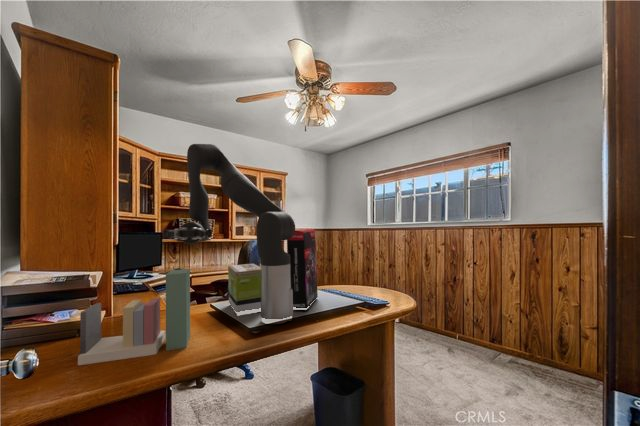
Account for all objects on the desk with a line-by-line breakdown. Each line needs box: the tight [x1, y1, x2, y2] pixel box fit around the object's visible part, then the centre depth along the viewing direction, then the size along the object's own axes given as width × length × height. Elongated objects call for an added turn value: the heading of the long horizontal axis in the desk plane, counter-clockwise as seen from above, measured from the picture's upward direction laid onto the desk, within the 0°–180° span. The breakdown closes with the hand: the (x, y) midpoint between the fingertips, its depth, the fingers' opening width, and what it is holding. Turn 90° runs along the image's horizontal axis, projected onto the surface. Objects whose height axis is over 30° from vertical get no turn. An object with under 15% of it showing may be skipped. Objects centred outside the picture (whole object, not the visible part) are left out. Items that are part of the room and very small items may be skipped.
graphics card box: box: [286, 228, 319, 308], centre depth 104 cm, size 17×7×27 cm, turn 168°
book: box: [165, 268, 191, 351], centre depth 73 cm, size 4×7×18 cm, turn 18°
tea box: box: [227, 263, 261, 312], centre depth 101 cm, size 15×10×15 cm, turn 27°
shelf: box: [77, 297, 166, 366], centre depth 69 cm, size 15×10×11 cm, turn 108°
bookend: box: [79, 302, 102, 355], centre depth 67 cm, size 1×8×9 cm, turn 18°
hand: (185, 234), depth 87 cm, fingers open, 8 cm apart
